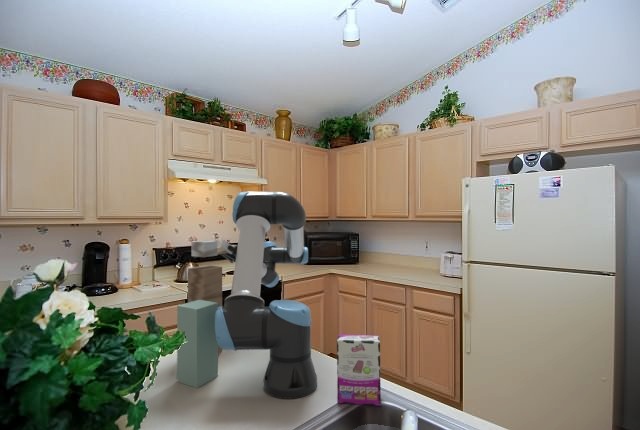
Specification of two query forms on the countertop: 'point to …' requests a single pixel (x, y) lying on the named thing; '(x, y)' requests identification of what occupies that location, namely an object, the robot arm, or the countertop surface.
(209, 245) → the meat mallet
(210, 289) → the walnut pillar
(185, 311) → the sage block
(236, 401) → the countertop surface
